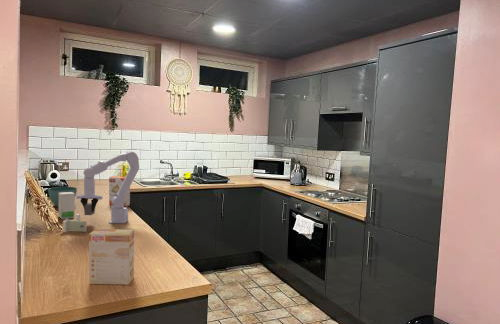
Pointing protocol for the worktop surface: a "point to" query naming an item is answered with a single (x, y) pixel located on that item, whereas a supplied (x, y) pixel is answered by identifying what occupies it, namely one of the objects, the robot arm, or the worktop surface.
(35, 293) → the worktop surface
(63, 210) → the skincare box
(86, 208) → the grey block
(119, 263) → the coffeecake box
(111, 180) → the cracker box
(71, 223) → the door
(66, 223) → the wall frame
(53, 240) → the worktop surface
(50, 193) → the plant pot
